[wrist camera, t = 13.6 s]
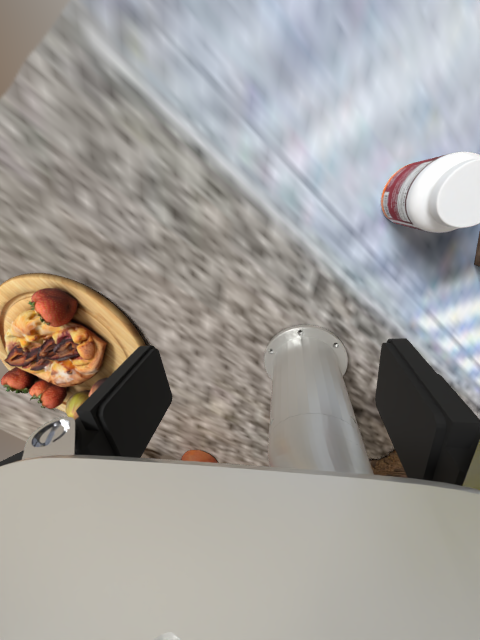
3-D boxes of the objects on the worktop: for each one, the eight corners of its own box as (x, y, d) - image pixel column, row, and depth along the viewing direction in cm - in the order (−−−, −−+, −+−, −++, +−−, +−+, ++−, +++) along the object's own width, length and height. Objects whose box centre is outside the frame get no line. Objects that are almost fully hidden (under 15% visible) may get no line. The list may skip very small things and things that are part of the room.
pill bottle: (454, 182, 27) (549, 176, 17) (409, 234, 30) (468, 253, 20) (408, 149, 27) (480, 125, 17) (366, 205, 29) (407, 212, 20)
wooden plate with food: (7, 229, 39) (-59, 239, 31) (184, 343, 42) (163, 374, 35) (-9, 360, 54) (-55, 387, 46) (123, 435, 58) (99, 470, 50)
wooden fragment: (431, 423, 42) (434, 428, 41) (474, 455, 44) (478, 461, 43) (320, 483, 54) (320, 488, 53) (357, 507, 55) (359, 513, 54)
